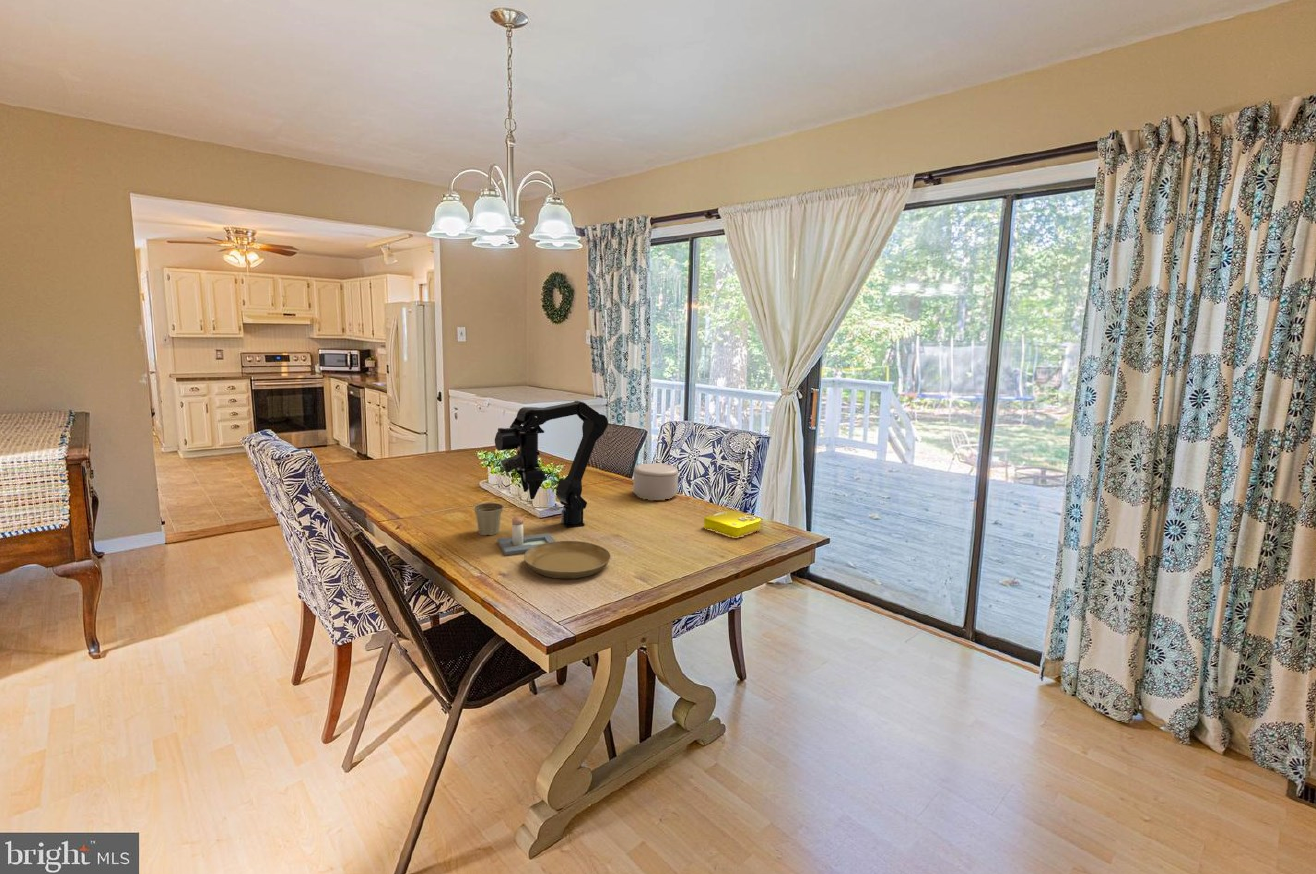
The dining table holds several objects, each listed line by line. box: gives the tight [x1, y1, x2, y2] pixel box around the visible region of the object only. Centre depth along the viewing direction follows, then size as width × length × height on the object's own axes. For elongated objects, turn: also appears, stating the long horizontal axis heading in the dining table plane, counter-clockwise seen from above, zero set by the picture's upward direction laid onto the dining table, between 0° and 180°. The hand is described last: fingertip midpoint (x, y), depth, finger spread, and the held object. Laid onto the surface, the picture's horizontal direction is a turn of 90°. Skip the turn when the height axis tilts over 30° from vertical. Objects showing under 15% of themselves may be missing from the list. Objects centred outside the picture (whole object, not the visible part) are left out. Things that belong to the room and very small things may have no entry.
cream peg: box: [511, 517, 524, 546], centre depth 187 cm, size 3×3×9 cm
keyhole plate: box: [497, 532, 556, 557], centre depth 189 cm, size 16×12×1 cm
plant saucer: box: [523, 540, 612, 580], centre depth 175 cm, size 24×24×3 cm
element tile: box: [703, 509, 762, 537], centre depth 211 cm, size 15×15×5 cm
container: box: [632, 462, 679, 501], centre depth 250 cm, size 18×18×12 cm
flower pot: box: [472, 502, 505, 536], centre depth 199 cm, size 9×9×9 cm
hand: (528, 495), depth 199 cm, fingers open, 9 cm apart
